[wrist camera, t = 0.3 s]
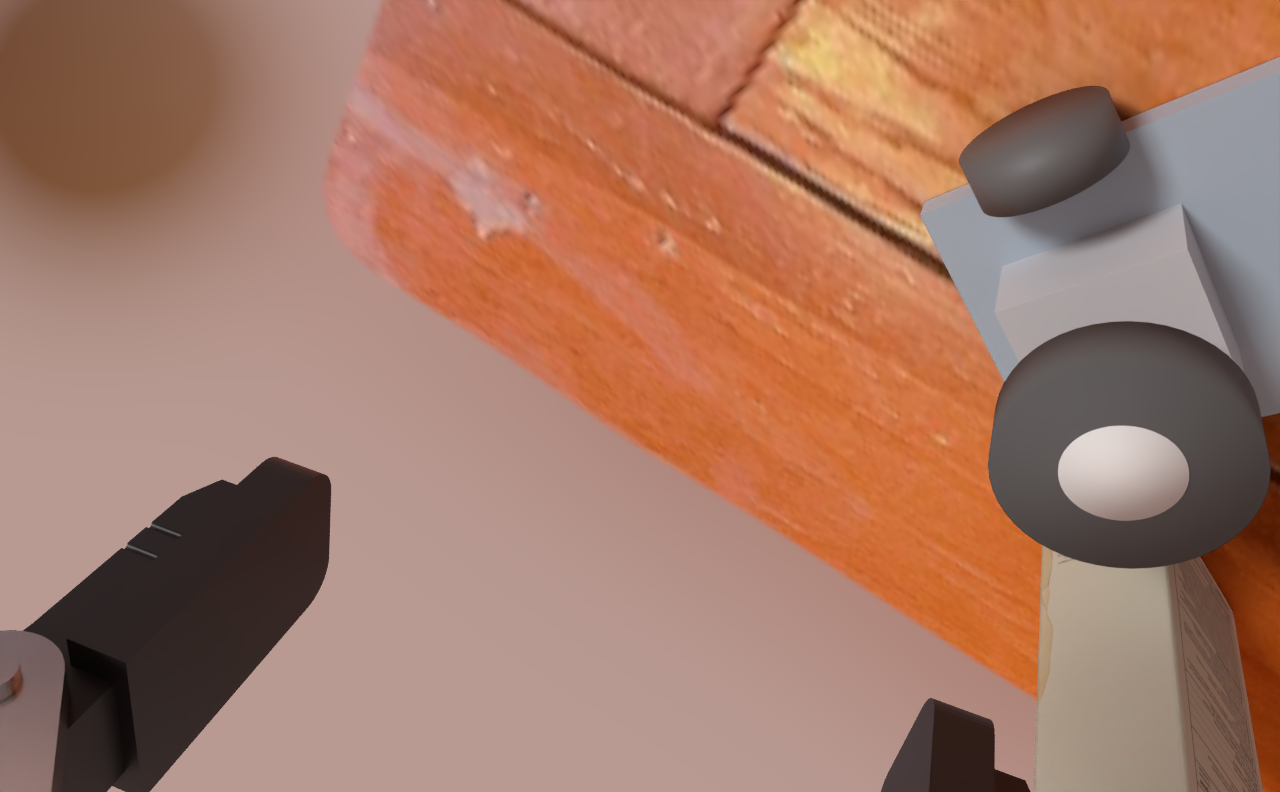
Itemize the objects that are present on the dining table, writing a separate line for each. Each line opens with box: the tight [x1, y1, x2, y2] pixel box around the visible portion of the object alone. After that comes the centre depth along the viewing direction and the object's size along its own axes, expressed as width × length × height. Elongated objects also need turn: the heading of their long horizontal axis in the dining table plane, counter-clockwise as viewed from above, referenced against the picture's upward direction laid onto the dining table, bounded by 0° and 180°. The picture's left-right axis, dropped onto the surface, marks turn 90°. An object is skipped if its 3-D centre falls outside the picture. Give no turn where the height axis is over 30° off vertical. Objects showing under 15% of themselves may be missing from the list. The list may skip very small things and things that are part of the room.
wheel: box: [988, 321, 1271, 569], centre depth 25 cm, size 6×6×2 cm
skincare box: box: [1034, 545, 1263, 792], centre depth 32 cm, size 6×4×12 cm
